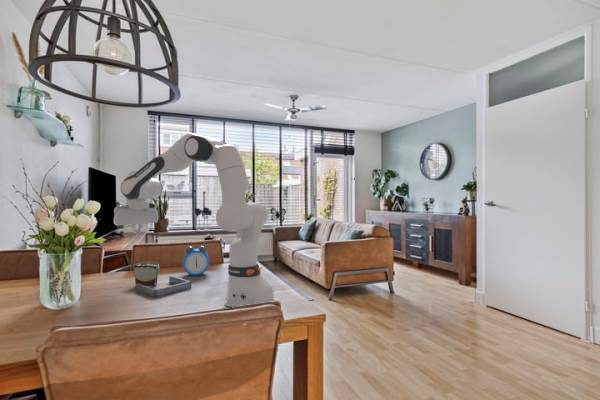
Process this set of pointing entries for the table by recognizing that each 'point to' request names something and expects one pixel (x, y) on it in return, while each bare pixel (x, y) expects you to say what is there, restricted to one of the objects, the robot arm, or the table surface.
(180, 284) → the metal dock
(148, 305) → the table surface
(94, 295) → the table surface
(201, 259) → the alarm clock
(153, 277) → the food container
